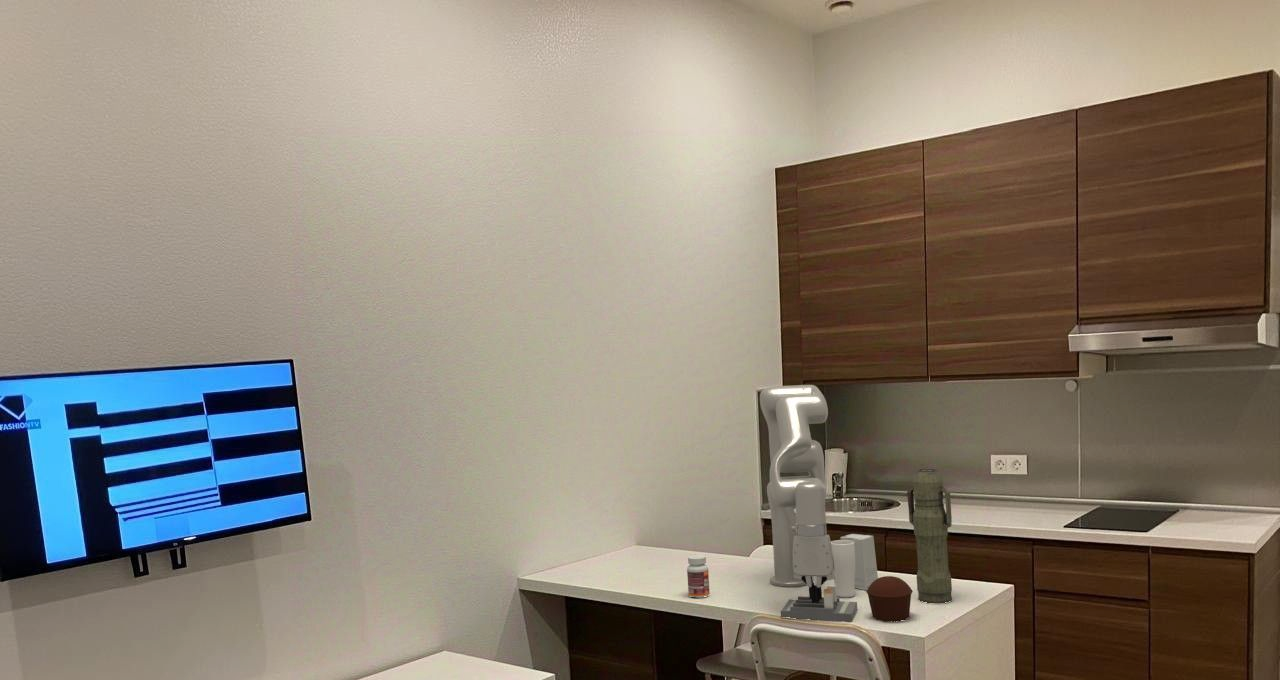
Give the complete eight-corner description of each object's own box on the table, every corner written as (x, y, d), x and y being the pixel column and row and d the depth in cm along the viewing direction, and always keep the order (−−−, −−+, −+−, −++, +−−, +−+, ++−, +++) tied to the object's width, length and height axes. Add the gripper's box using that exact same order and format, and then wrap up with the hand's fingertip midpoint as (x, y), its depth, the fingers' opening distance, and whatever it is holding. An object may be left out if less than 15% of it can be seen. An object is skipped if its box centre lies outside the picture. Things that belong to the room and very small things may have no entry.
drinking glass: (840, 591, 261) (836, 539, 262) (861, 594, 257) (858, 540, 258) (828, 597, 256) (825, 543, 257) (850, 600, 252) (847, 545, 252)
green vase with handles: (919, 593, 254) (911, 467, 256) (962, 598, 247) (954, 468, 248) (907, 601, 248) (899, 471, 249) (950, 606, 240) (942, 472, 242)
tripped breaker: (825, 608, 236) (824, 588, 237) (834, 608, 236) (832, 589, 236) (824, 610, 234) (823, 591, 234) (832, 611, 233) (831, 591, 234)
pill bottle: (709, 598, 262) (707, 558, 262) (687, 599, 262) (685, 559, 263) (709, 593, 268) (707, 554, 268) (688, 593, 268) (686, 555, 269)
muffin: (895, 626, 225) (892, 585, 225) (858, 618, 234) (856, 578, 234) (923, 616, 232) (920, 576, 233) (886, 608, 241) (884, 570, 241)
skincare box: (879, 587, 264) (876, 535, 265) (865, 591, 261) (862, 538, 261) (856, 582, 271) (853, 532, 272) (842, 586, 267) (839, 535, 268)
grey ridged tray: (789, 606, 248) (788, 582, 248) (857, 609, 242) (855, 584, 242) (780, 618, 237) (779, 592, 237) (851, 621, 230) (850, 595, 231)
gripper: (780, 532, 236) (784, 604, 235) (838, 533, 231) (843, 606, 230) (786, 527, 243) (790, 597, 242) (843, 528, 238) (847, 599, 237)
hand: (815, 601), depth 236 cm, fingers closed
